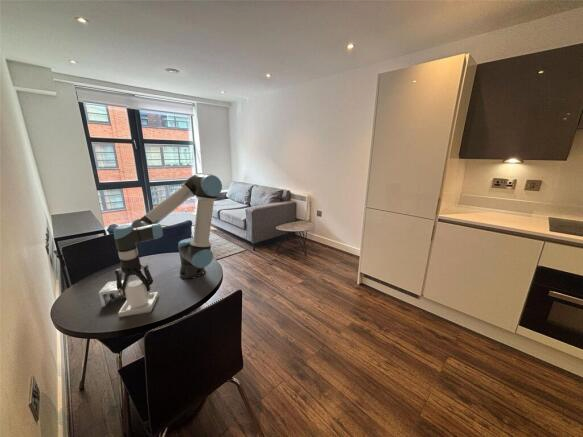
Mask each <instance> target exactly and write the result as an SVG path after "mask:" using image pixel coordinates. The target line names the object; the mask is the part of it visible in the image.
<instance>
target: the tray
mask: <svg viewBox="0 0 583 437" xmlns="http://www.w3.org/2000/svg"><path fill="white" fill-rule="evenodd" d="M149 294H150V295H149V297H148V302H147V303H146V304H145V305H143V306H141V307H136V308H133V307H130V304H129V301H127V299H126V300H125V302H124V303H123V305H122V306H121V308H120V309H119V311H118V313H117V314H118V317H119V318H123V317H129V316H135V315H142V314H148V313H152V311H153V309H154V307H155V305H156V303H157V301H158V298H159V292H158V291H154V292H149Z"/></svg>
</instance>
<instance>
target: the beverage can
mask: <svg viewBox="0 0 583 437" xmlns="http://www.w3.org/2000/svg"><path fill="white" fill-rule="evenodd" d="M144 286H145V285H144V283H143V282H142V281H141V280H140V279H139V278H136V279H133V280H131V281H129V282H127V284H126V292H127V296H128V300H129V304H130V307H133V308H136V307H141V306H143V305H145V304H146V303H147V302H148V298H146V294H145V290H144Z"/></svg>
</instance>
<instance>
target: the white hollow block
mask: <svg viewBox="0 0 583 437" xmlns="http://www.w3.org/2000/svg"><path fill="white" fill-rule="evenodd" d="M123 281H124V279H122V285H123ZM98 296H99V299H100V303H101V306H102V307H103V308H104V307H107V305H108V304H109V303H110V301H111V300H112V301H114V302H120V301H122V300H124V299H125V298H126V295H124V294H123V291H122V289H117V280H114V281H113V280H112V281H107V283H106V284H104V286H103V287H102V288H101V289H100V290H99V291H98Z"/></svg>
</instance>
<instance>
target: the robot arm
mask: <svg viewBox="0 0 583 437" xmlns="http://www.w3.org/2000/svg"><path fill="white" fill-rule="evenodd" d="M222 190H223V184H222V181H221V180H220V178H219V177H218V176H217V175H214V174H212V173H202V172H200V173H195V174H194V175H191V177H188V179H186V180H185V181H184V182H182V183H181V184H180V187H179V188H178V189H177V190H175V191H174V192H173V193H171V194H170V195H169V196H168V197H166V198H165V199H164V200H162V201H161V202H160V203H159V204H157V205H156V206H155V207H153V208H152V209H151V210H150V211H149V212H147V213H146V214H145V215H143V216H141V217H140V218H137V219H134V220H133V221H132V223H131V224H122V225H118V226H116V227H114V228H113V235H114V236H113V237H114V241H115V245H116V246H115V247H116V249H117V253H118V254H117V255H118V257H119V259H120V260H119V261H120V267H121V268H116V270H115V271H114V274H115V275H116V281H117V289H122V291H123V294H124V295H126V296H125V298H126V300H127V301H129V300H128V296H127V292H126V284H127V283H128V281H129V280H130V279H129V278H130V276H136V277H138V279H140V280H141V281H142V282H143V283H144V285H145V286H144V290H145V294H146V298H148V297H149V295H150V294H149V293H150V291H151V286H150V285H152V284H153V283H154V279H153V277H152V275H151V273H150V270H149V265H148V264H146V265H142V264H141V261H140V256H139V251H138V246H137V244H141V243H144V242H149V241H153V240H157V239H159V238H162V237H164V236H163V235H164V231H163V227H162V225H161V224H160V222H162V221H163V220H164V219H165V218H166V217H167V216H169V215H170V214H171V213H173V212H174V211H175V210H176V209H177V208H179V207H180V206H182V204H184V203H185V202H186V201H187V200H188V199H190V198H193V197H195V198H196V199H197V204H196V214H195V222H194V231H193V237H191V238H190V237H189V238H185V239H181V240H180V241H179V242H178V243H177V244H178V246H177V247H178V252H179V253H178V254H179V259H180V260H179V261H180V267H179V268H180V269H179V272H178V273H179V277H180V278H181V277H182V278H181V279H184V278H192V279H194V278H193V277H196V276H199V275H201V274H202V273H203V272H204V271H205V270H206V269H205V268H206V267H208V265H210V264H211V263H212V261H213V260H214V254H213V252H212V250H211V248H212V243H211V242H210V235H211V229H212V228H211V226H212V220H213V219H212V218H213V210H214V204H215V201H217V200H218V195H220V193H222ZM122 272H123V273H124V278H123V279H122V277H123V276H122ZM205 272H206V271H205ZM205 272H204V273H205ZM143 273H144V274H143ZM204 273H203V274H204ZM203 274H202V275H203ZM202 275H201V276H202ZM199 277H200V276H199ZM196 278H197V277H196ZM122 280H124V281H123V285H122Z"/></svg>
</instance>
